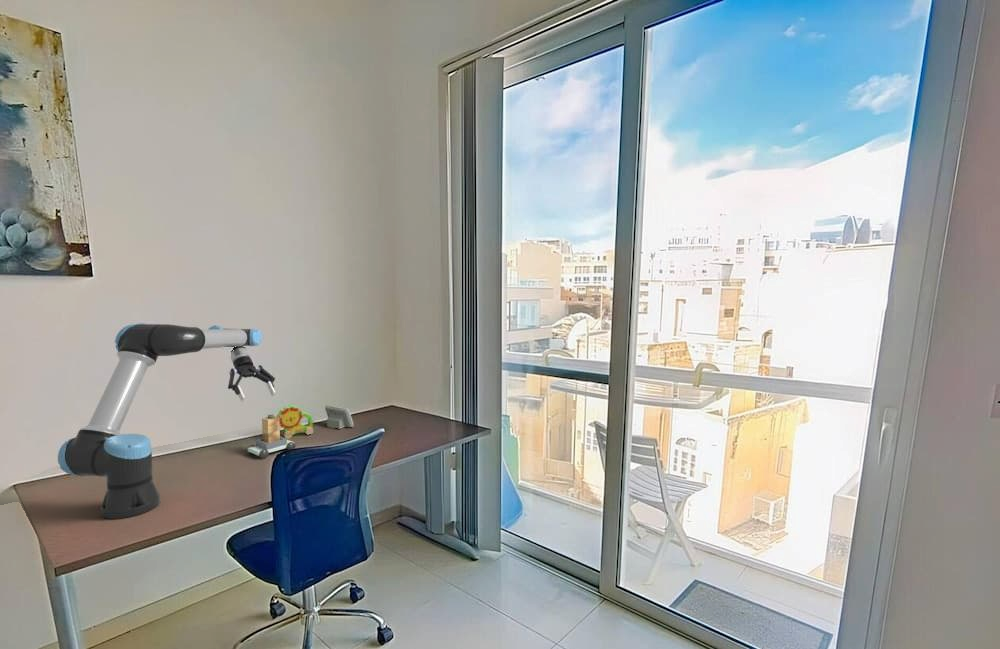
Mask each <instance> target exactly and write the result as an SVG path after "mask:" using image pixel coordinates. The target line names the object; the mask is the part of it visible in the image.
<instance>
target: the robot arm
mask: <svg viewBox="0 0 1000 649" xmlns="http://www.w3.org/2000/svg"><path fill="white" fill-rule="evenodd" d="M262 333H263V332H261V331H260V330H259V329H257V328H256V329H255V328H224V327H223V326H221V325H217V324H216V325H215V324H214V325H212V326H210V327H209V328H208V329H201V328H199V327H196V326H183V325H176V324H168V323H167V324H164V323H163V324H162V323H161V324H160V323H144V322H143V323H142V322H141V323H133V324H128V325H126V326H124V327H122V328H121V329H120V330H119V331H118V332H117V334H116V336H115V340H114V344H115V349H116V350H117V353H116V356H117V357H118V359H119V361H118V362H117V365H116V366H115V369H114V371H113V373H112V374H111V377H110V379H109V381H108V383H107V385H106V386H105V390H104V391H103V393H102V396H101V397H100V399H99V402H98V404H97V406H96V408H95V409H94V411H93V414H92V416H91V418H90V421H89V422H88V425H86V426H84V427H81V428H80V429H79V430H78V432H77V433H76V436H75V437H72V438H69V439H68V440H67V441H66V440H65V442H64V443H63V444H62V445H61V446H60V448H59V450H58V453H57V464H58V465H59V468H60V469H61V470H62V471H63V472H65V474H69V475H74V476H79V477H85V476H86V477H104V478H106V491H105V494H104V498H103V502H102V503H101V507H100V513H101V514H100V515H101V516H102V518H104V519H108V520H110V519H111V520H115V519H116V520H117V519H125V518H131V517H134V516H138V515H143V514H145V513H147V512H149V511H151V510H153V509H156V507H158V506H159V505H160V504H161V495H160V493H159V491H158V489H157V486H156V484H155V482H154V481H153V480H154V479H153V478H154V477H153V453H152V452H153V449H152V448H153V447H152V445H151V439H150V438H149V437H148V436H146V435H144V434H140V433H139V434H138V433H122V434H121V433H120V430H121V428H122V425H123V424H124V421H125V419H126V417H127V414H128V412H129V410H130V408H131V406H132V403H133V402H134V398H135V397H136V394H137V392H138V391H139V389H140V388H139V387H140V386H141V384H142V381H143V379H144V378H145V375H146V372H147V370H148V368H149V367H151V366H153V365H155V364H156V362H157V360H158V358H159V357H171V356H176V355H177V356H178V355H184V354H191V353H197V352H200V351H201V350H207V349H219V348H222V347H234V348H233V350H234V351H233V350H232V351H231V358H230V360H231V362H232V364H233V367H234V368H231V369H229V370H230V371H229V373H228V374H229V381H228V386H227V389H229V390H232V391H233V392H234V393H235V395H237V396H238V397H239V399H240V402H244V400H245V398H246V396H245V394H244V392H243V390H242V387H241V386H240V385H239V384H240V382H241V381H242V379H243V378H245V379H247V378H254V379H255V378H256V379H257V380H260V381H261V382H263V383H265V384H266V386H267V389H268V391H269V393H270V395H271V397H274V396H275V395H276V390H275V385H274V382H275V380H276V377H275V376H273V375H272V374H271V373H269V372H268V370H266V369H264V368H263V366H262V365H261V364H260V365H258V366H254V362H253V360H252V358H251V356H250V354H249V352H248V350H247V348H246V347H257V346H259V345H261V343H262V341H263V334H262ZM235 346H236V347H235ZM243 346H245V347H243ZM222 349H223V348H222ZM236 374H238V375H239V376H238V378H237V379H236V381H235V383H234V380H235V375H236Z"/></svg>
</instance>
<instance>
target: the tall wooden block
mask: <svg viewBox="0 0 1000 649" xmlns="http://www.w3.org/2000/svg"><path fill="white" fill-rule="evenodd" d="M261 423H262V424H261V427H262V429H261V430H262V432H261V433H262V438H263V442H266V443H270V442H274V441H278V440H280V437H281V432H280V428H281V427H280V424H279V417H277V416H275V415H274V414H268V415H267V416H266V417H263V418H261Z"/></svg>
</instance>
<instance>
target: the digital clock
mask: <svg viewBox="0 0 1000 649" xmlns="http://www.w3.org/2000/svg"><path fill="white" fill-rule="evenodd" d="M324 409H325V412H326V415H327V418H326V419H327V420H326V424H327V426H326V427H327V428H329V427H331V428H330V429H334V428H338V429H340V428H343V427H347V428H349V427H352V428H354V425H355V423H354V422H353V417H352V414H351V412H350V409H349V408H347V407H346V408H344V407H341V406H336V405H335V406H334V405H329V404H328V405H326V406H325V407H324ZM338 429H337V430H338Z"/></svg>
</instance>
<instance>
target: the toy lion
mask: <svg viewBox="0 0 1000 649" xmlns="http://www.w3.org/2000/svg"><path fill="white" fill-rule="evenodd" d="M276 417H279V424H280V428H282V429H283V430H282V431H281V437H282V436H283V438H286V439H287V440H290V439H291V438H293V436H294V435H296V434H298V433H305V434H306V435H308V436H310V435H309V434H311V435H312V434H314V428H313V427H314V426H313V425H314V424H313V418H312V416H311V415H310V414H309V413H307V412H305V411H304V412H303V411H302V409H300V408H299V407H298V406H294V405H288V406H285V407H284V408H282V409H280V410H279V412H278V414H277V415H276ZM303 418H307V420H308V424H307V425H304V424H303V423H301V420H302V419H303Z"/></svg>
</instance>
